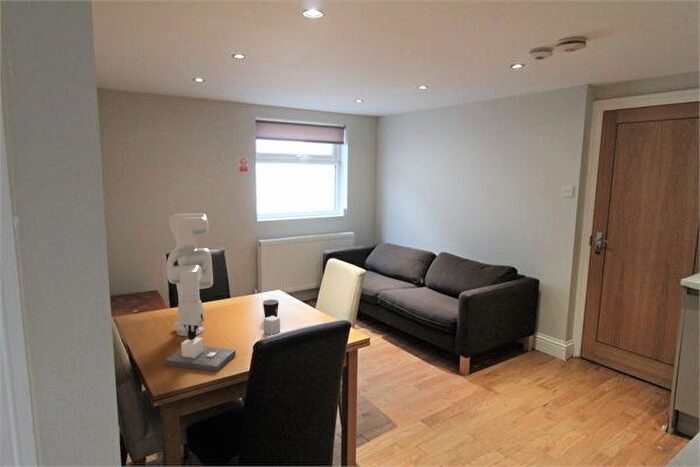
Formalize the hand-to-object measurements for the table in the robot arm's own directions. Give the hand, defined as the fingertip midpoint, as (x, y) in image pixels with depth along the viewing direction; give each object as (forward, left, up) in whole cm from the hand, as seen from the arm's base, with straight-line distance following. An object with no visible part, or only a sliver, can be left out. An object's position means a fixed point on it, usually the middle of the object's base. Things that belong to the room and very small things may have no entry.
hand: (192, 338), depth 181 cm
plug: (0, 0, -9) cm, 9 cm away
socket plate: (+4, 0, -9) cm, 10 cm away
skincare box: (+21, +37, -10) cm, 44 cm away
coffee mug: (+14, +55, -10) cm, 58 cm away
